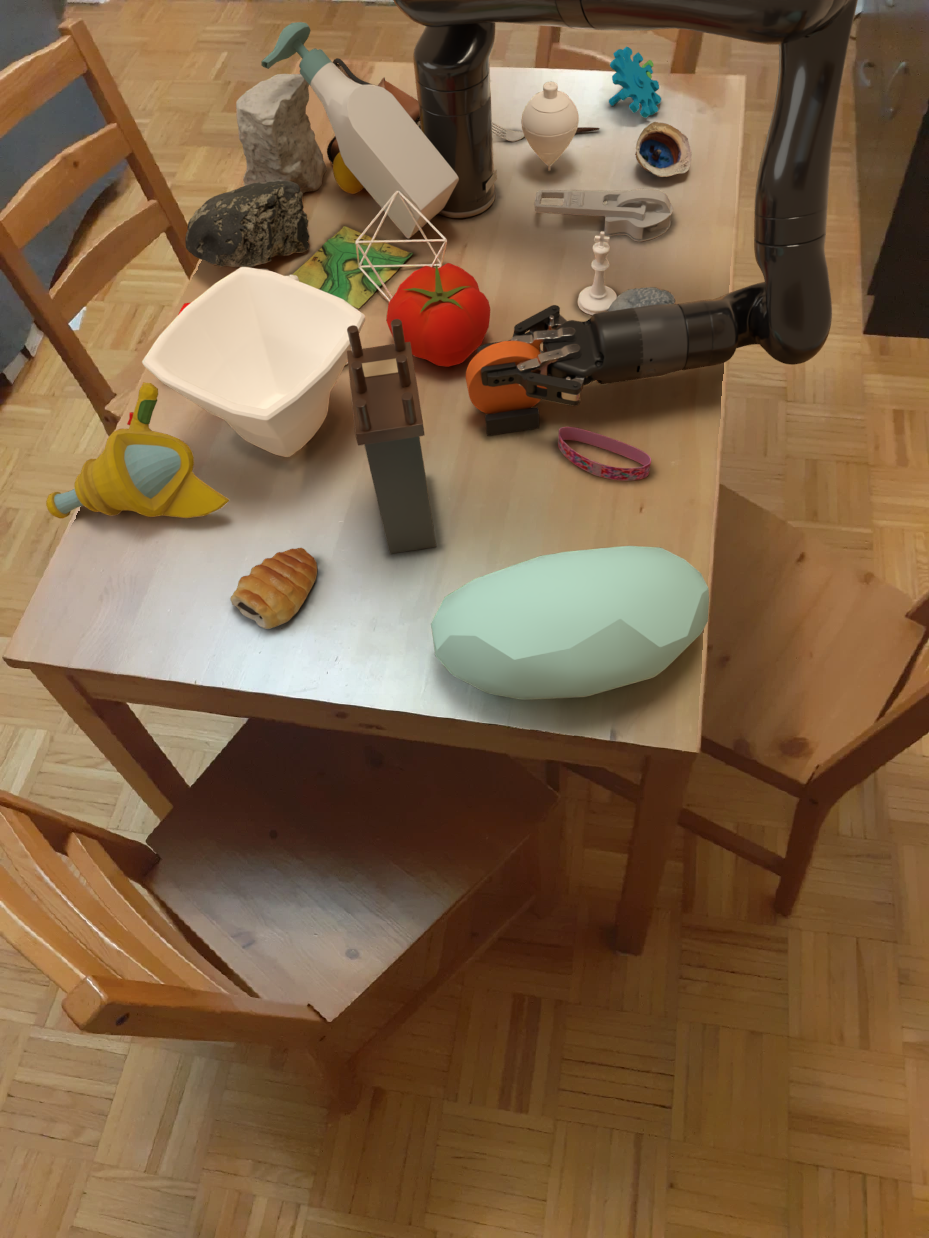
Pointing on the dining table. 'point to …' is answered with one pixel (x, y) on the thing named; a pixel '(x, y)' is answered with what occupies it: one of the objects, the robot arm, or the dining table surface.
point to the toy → (140, 474)
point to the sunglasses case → (402, 97)
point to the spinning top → (549, 123)
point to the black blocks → (512, 421)
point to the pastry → (276, 587)
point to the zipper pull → (615, 209)
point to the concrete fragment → (249, 225)
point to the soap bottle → (374, 136)
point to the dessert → (663, 150)
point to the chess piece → (598, 281)
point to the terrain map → (350, 266)
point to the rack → (384, 389)
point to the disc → (503, 395)
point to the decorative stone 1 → (279, 133)
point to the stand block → (402, 493)
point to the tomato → (441, 314)
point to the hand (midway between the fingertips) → (480, 366)
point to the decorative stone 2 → (572, 622)
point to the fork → (519, 135)
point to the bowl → (258, 355)
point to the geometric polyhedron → (397, 241)
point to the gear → (635, 82)
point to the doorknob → (345, 176)
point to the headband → (606, 444)
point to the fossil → (642, 298)
